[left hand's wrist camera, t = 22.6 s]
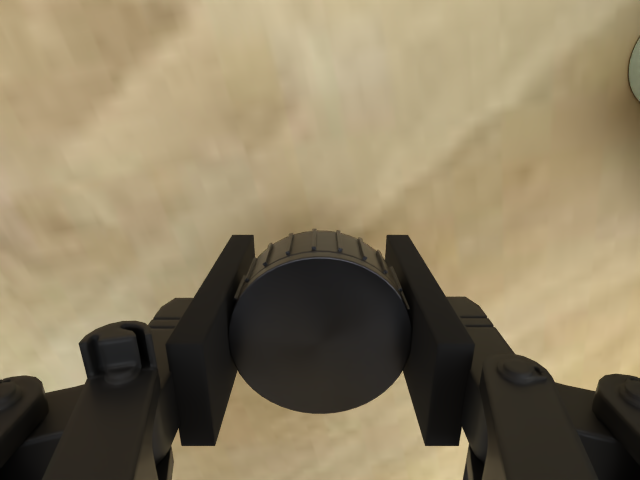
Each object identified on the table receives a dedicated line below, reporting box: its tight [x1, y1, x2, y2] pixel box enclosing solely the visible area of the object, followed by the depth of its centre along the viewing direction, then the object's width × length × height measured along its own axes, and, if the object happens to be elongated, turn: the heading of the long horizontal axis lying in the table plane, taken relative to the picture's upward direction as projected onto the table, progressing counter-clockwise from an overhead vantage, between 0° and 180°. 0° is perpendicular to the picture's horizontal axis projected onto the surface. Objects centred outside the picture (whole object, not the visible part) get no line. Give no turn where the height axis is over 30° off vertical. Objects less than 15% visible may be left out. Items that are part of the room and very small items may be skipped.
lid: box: [228, 229, 412, 414], centre depth 11 cm, size 5×5×2 cm
